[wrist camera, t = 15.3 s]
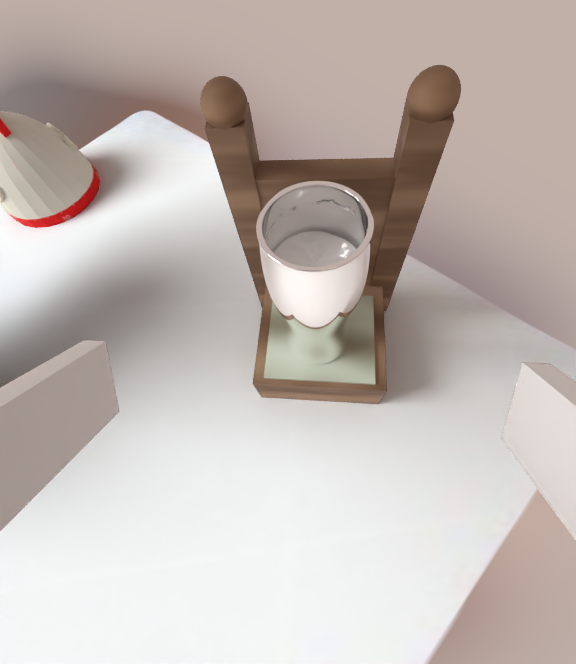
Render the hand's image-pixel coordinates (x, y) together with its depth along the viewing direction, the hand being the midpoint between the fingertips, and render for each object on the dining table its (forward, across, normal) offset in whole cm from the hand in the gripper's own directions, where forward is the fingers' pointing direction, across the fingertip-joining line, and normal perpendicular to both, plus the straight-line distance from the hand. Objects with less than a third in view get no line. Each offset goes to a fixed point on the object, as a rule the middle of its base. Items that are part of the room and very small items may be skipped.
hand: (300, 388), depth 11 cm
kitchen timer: (+43, -41, +6) cm, 60 cm away
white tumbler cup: (+21, 0, -6) cm, 22 cm away
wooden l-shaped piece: (+26, +1, -9) cm, 27 cm away
